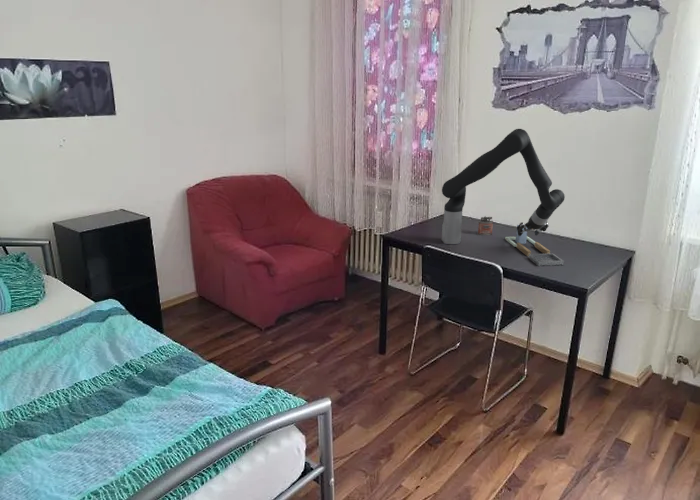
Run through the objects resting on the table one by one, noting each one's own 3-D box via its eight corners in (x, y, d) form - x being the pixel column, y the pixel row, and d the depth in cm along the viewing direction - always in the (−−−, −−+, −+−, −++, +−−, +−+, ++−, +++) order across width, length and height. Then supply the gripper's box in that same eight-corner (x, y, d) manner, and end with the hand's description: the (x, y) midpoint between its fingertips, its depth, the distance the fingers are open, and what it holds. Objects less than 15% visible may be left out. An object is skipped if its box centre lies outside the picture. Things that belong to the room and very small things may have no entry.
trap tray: (538, 266, 236) (538, 261, 236) (528, 258, 247) (528, 254, 246) (563, 265, 237) (564, 261, 237) (552, 257, 248) (553, 253, 247)
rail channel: (527, 256, 249) (528, 251, 248) (516, 247, 262) (516, 242, 262) (549, 255, 250) (550, 250, 249) (537, 246, 263) (537, 242, 262)
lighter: (478, 235, 283) (479, 217, 280) (476, 233, 286) (478, 216, 283) (493, 235, 283) (494, 217, 280) (491, 233, 286) (492, 215, 283)
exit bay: (514, 246, 263) (514, 244, 263) (505, 239, 276) (505, 236, 275) (537, 246, 264) (538, 243, 264) (527, 238, 277) (527, 236, 276)
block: (518, 243, 268) (520, 227, 265) (515, 241, 272) (517, 224, 269) (526, 243, 269) (527, 226, 266) (522, 241, 273) (524, 224, 270)
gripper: (551, 210, 250) (539, 227, 265) (523, 211, 249) (512, 228, 264) (555, 224, 247) (542, 240, 261) (526, 225, 246) (515, 241, 260)
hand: (527, 234), depth 263 cm, fingers open, 8 cm apart
